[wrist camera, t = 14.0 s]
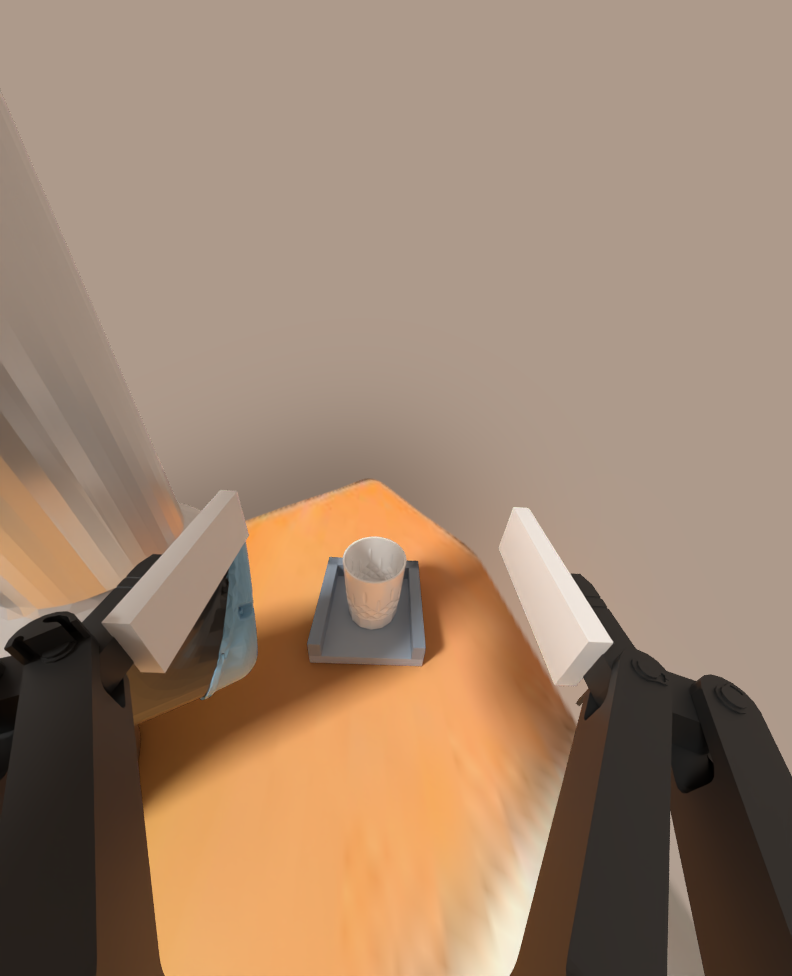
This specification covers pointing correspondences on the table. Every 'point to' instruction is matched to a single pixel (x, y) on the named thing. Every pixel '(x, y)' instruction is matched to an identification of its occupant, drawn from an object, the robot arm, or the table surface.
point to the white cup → (373, 580)
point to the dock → (356, 645)
